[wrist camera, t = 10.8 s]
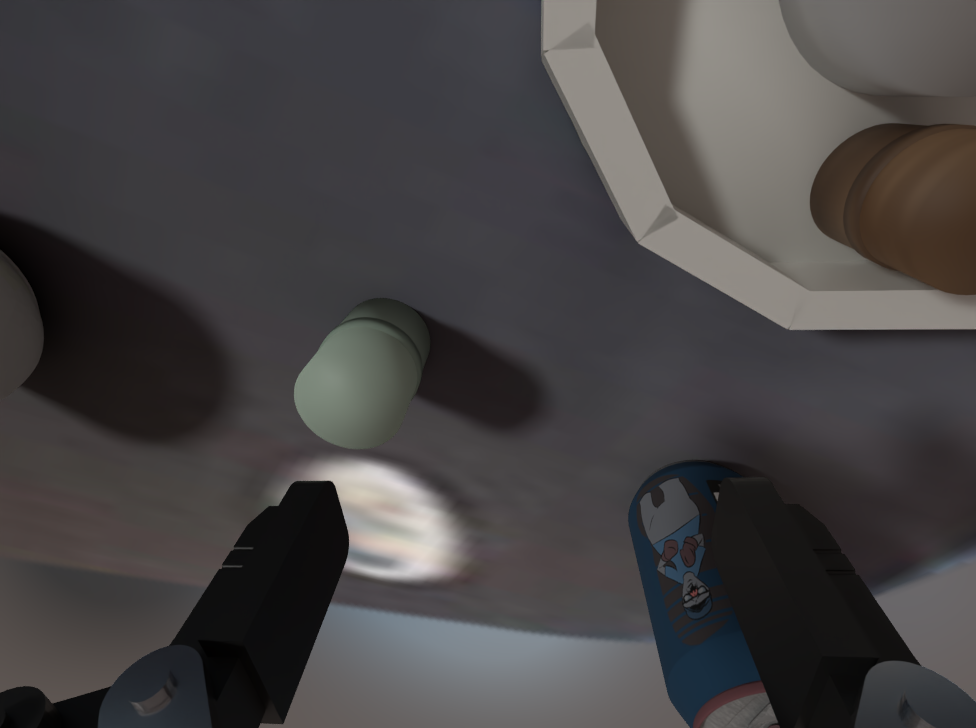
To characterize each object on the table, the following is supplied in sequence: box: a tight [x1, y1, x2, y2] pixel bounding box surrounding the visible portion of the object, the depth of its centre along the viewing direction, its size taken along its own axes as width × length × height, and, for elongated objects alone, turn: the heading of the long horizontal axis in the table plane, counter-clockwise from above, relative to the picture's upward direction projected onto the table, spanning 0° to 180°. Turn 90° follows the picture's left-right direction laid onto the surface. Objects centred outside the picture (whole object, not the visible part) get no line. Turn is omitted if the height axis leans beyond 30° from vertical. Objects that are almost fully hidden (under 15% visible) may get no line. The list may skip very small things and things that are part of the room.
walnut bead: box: [810, 123, 976, 295], centre depth 17 cm, size 5×5×6 cm
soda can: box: [628, 460, 780, 728], centre depth 23 cm, size 7×7×12 cm
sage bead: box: [294, 298, 431, 449], centre depth 23 cm, size 5×5×6 cm
